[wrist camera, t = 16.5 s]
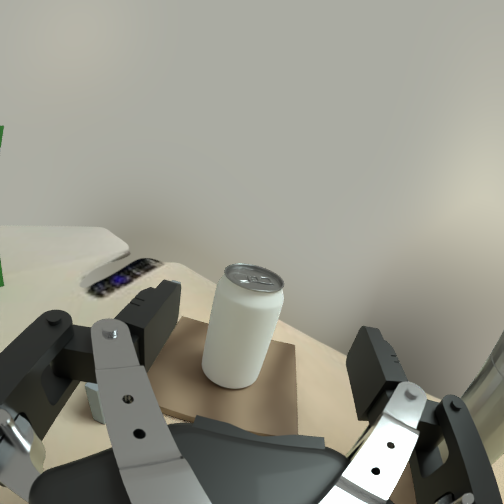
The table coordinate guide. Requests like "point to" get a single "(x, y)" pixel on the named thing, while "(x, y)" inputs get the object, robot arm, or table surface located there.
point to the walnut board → (219, 398)
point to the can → (241, 324)
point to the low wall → (97, 398)
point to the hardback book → (0, 277)
